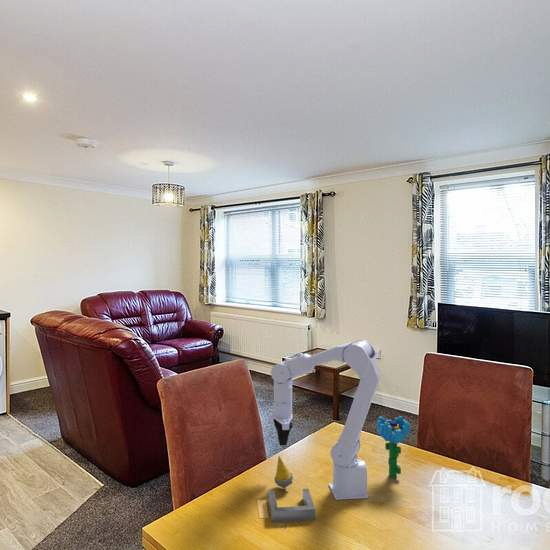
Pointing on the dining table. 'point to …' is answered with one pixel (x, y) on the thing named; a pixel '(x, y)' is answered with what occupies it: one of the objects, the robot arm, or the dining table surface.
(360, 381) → the robot arm
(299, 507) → the bracket
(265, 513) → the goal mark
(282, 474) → the grooved yellow cone
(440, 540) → the dining table surface
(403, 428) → the toy flower
